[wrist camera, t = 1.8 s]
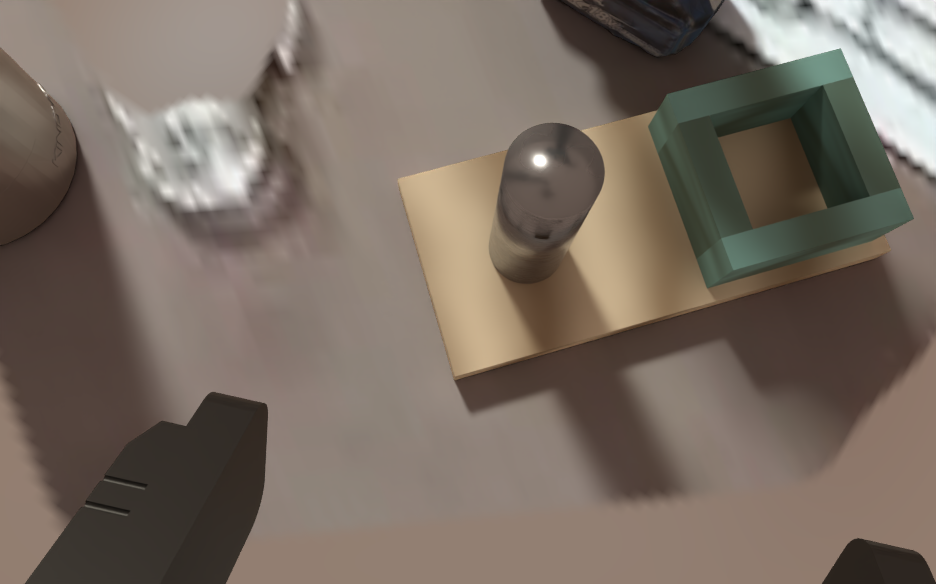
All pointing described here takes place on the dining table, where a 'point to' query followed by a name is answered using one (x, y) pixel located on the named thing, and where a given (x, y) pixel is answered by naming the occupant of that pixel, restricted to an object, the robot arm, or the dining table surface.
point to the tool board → (669, 215)
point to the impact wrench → (651, 21)
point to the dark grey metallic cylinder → (543, 200)
